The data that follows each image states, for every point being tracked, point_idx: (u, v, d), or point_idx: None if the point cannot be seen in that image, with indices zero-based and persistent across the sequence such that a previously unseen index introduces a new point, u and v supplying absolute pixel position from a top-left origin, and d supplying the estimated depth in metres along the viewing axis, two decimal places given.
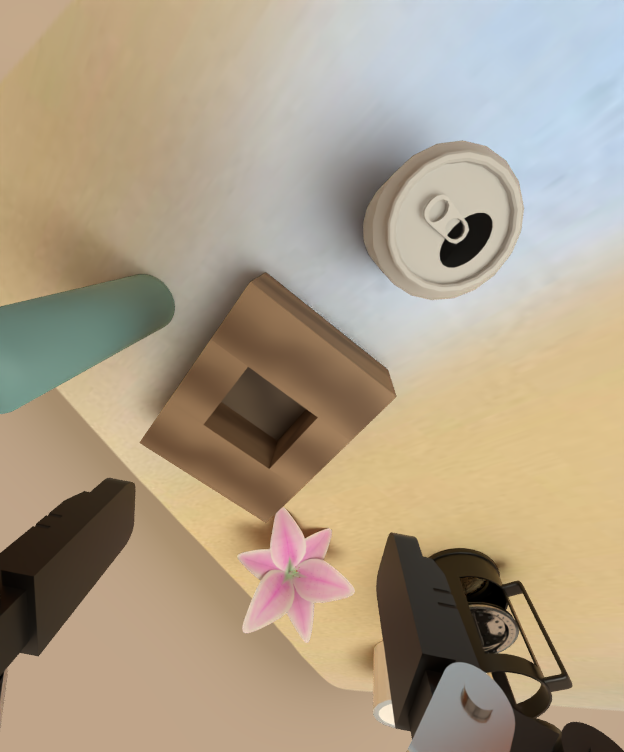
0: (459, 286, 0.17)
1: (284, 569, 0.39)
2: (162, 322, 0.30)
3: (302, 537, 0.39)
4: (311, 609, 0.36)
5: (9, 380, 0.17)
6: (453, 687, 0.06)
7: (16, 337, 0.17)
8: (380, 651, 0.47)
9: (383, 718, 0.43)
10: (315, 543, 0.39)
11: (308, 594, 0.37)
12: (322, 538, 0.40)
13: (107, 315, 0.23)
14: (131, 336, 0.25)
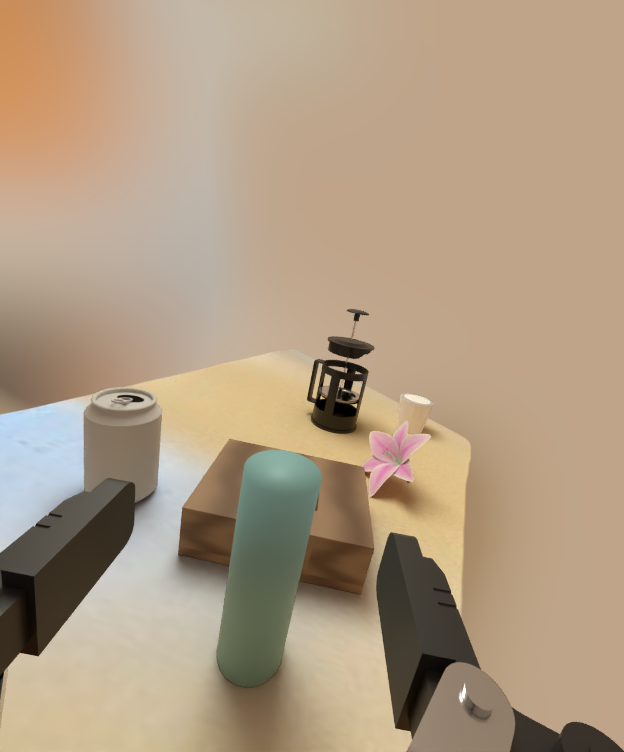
0: (152, 394, 0.39)
1: (399, 464, 0.51)
2: None
3: (373, 471, 0.51)
4: (395, 434, 0.54)
5: (280, 457, 0.23)
6: (453, 687, 0.06)
7: None
8: (411, 428, 0.72)
9: (429, 402, 0.72)
10: (371, 466, 0.53)
11: (392, 441, 0.53)
12: (366, 467, 0.54)
13: None
14: None
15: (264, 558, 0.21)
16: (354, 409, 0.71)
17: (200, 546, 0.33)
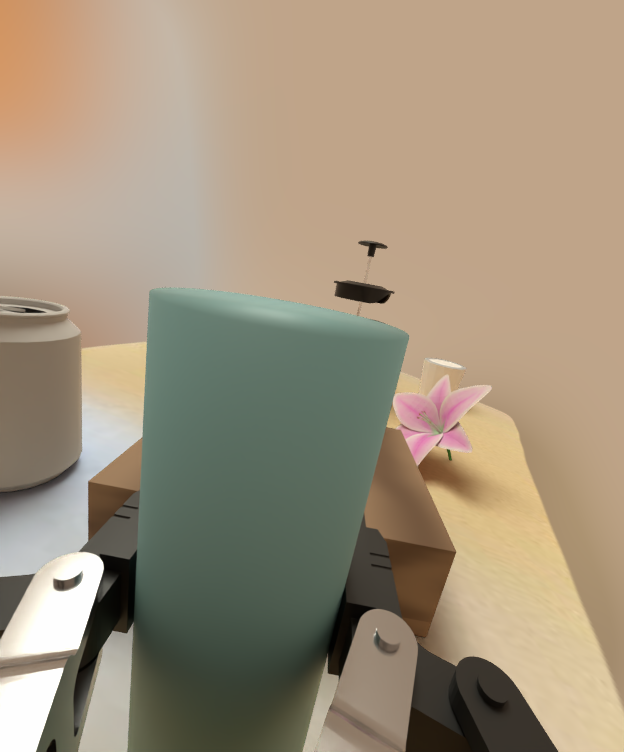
0: (63, 307, 0.24)
1: None
2: None
3: None
4: (431, 393, 0.39)
5: (275, 301, 0.08)
6: (368, 627, 0.07)
7: None
8: None
9: (460, 367, 0.58)
10: None
11: (427, 403, 0.38)
12: None
13: None
14: None
15: (222, 594, 0.06)
16: None
17: None
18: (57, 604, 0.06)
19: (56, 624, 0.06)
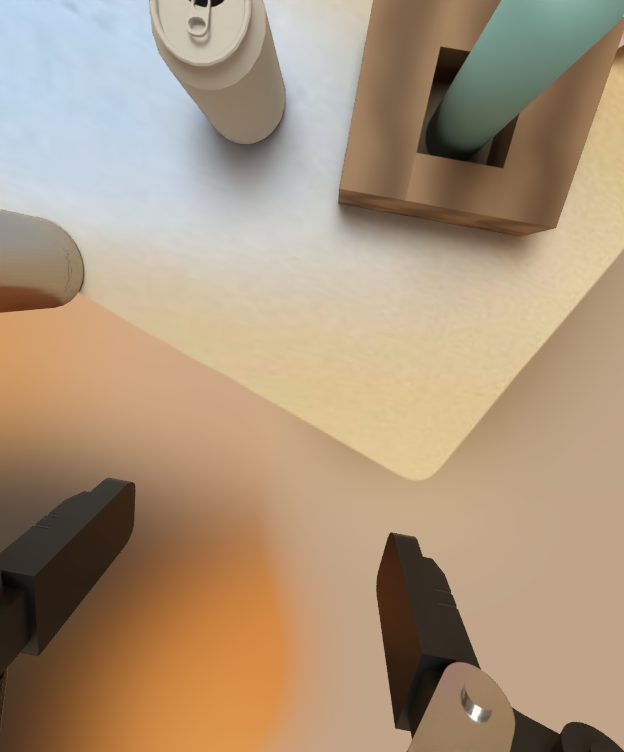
0: None
1: None
2: None
3: None
4: None
5: None
6: (453, 687, 0.06)
7: None
8: None
9: None
10: None
11: None
12: None
13: None
14: None
15: (508, 99, 0.20)
16: None
17: (360, 203, 0.32)
18: None
19: None
